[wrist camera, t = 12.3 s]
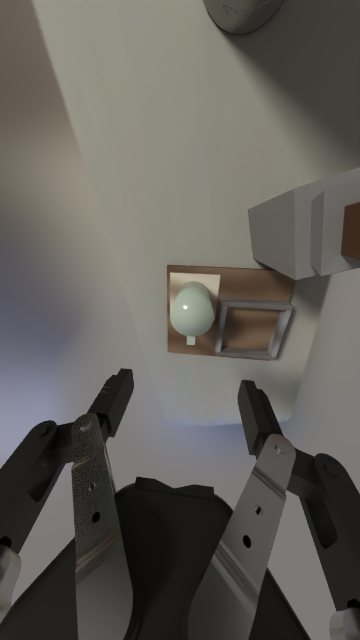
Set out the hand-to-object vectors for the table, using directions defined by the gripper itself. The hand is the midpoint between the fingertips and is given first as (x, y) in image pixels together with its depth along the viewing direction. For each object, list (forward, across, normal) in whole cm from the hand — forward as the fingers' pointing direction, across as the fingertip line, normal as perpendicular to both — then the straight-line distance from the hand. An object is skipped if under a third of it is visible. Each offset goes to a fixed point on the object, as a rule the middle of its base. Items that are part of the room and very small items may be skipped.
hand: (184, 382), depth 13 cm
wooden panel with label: (+20, -6, +4) cm, 21 cm away
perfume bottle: (+20, -11, -10) cm, 25 cm away
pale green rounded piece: (+19, 0, +1) cm, 19 cm away
